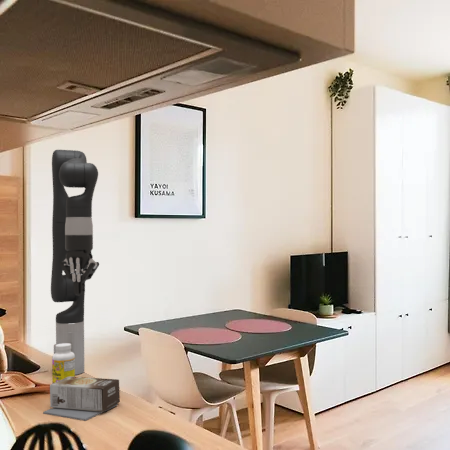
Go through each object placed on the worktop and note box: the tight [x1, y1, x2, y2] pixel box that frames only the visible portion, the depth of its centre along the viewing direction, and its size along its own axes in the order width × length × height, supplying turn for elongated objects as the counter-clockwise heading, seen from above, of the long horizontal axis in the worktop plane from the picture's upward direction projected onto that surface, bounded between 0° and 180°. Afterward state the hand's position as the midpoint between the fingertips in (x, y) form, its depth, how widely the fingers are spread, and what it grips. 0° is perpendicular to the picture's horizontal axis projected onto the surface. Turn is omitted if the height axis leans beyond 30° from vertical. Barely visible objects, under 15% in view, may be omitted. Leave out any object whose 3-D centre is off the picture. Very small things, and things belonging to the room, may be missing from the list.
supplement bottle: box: [51, 343, 76, 384], centre depth 162 cm, size 7×7×13 cm
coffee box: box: [49, 376, 121, 413], centre depth 142 cm, size 9×6×16 cm
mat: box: [42, 403, 119, 422], centre depth 140 cm, size 14×13×1 cm
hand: (79, 294), depth 148 cm, fingers closed
